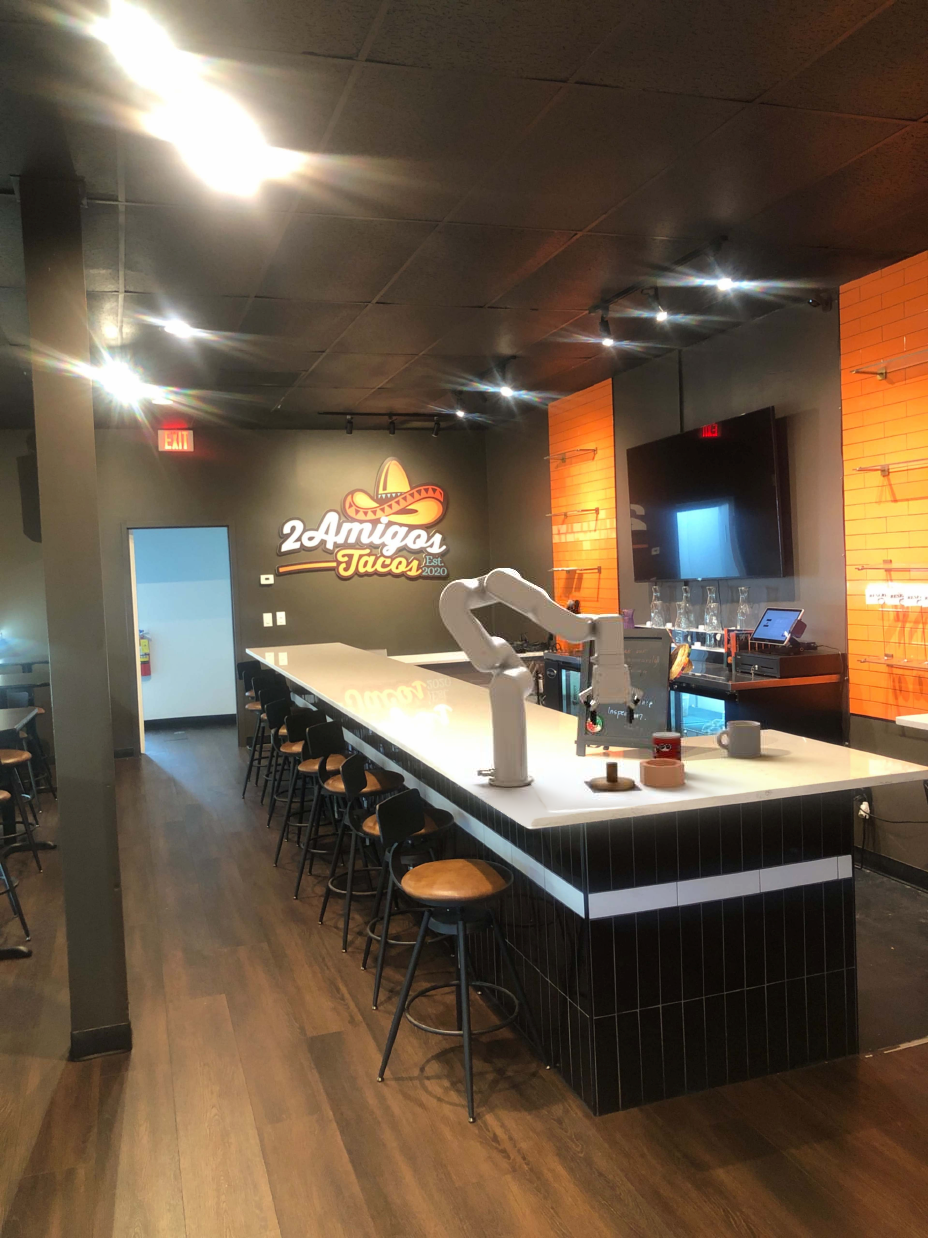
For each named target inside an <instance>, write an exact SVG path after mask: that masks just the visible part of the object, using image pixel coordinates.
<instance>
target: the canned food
mask: <svg viewBox="0 0 928 1238" xmlns="http://www.w3.org/2000/svg"><path fill="white" fill-rule="evenodd" d="M661 758H665V759H673V760H679V761H681V762H682V735H681V733H679V732H674V731H659V732H654V733H653V734H652V759H661Z"/></svg>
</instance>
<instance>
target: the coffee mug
mask: <svg viewBox="0 0 928 1238" xmlns="http://www.w3.org/2000/svg"><path fill="white" fill-rule="evenodd" d="M761 733H762V732H761V723H760V722H758V721H753V720H731V721H728V722H727V723H726V728H725V729H721V730H719V731H718V732H717V734H716V743H717V745H718V747H720V748H721V749H723V750H725V751H726V753H727V756H728V757H731V758H735V759H755V758H756V759H757V758H760V757H762V755H761V754H762V752H761V751H762V750H761V749H762V746H761V745H762V744H761V743H762V741H761V736H762V735H761ZM724 735H726V743H723V741H722V738H723V736H724Z"/></svg>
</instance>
